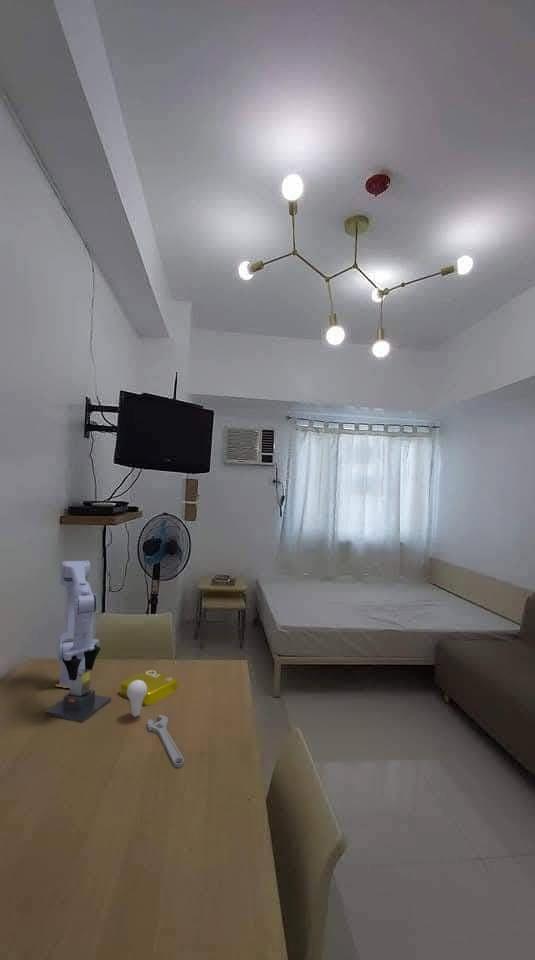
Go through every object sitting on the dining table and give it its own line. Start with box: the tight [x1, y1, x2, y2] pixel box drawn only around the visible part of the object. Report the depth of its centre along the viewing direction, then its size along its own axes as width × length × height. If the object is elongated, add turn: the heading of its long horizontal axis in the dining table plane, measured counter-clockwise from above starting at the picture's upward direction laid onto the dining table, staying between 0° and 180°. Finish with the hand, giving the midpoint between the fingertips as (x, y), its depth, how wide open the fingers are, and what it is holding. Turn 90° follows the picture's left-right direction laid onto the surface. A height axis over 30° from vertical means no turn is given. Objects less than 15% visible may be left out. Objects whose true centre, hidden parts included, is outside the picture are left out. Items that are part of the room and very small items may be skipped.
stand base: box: [43, 688, 112, 723], centre depth 134 cm, size 14×14×5 cm
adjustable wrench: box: [146, 714, 185, 769], centre depth 117 cm, size 25×6×2 cm, turn 25°
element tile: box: [119, 669, 178, 706], centre depth 146 cm, size 15×15×5 cm
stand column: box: [69, 668, 91, 698], centre depth 134 cm, size 4×4×8 cm
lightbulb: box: [127, 680, 147, 717], centre depth 130 cm, size 6×6×11 cm
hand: (80, 674), depth 134 cm, fingers open, 7 cm apart
